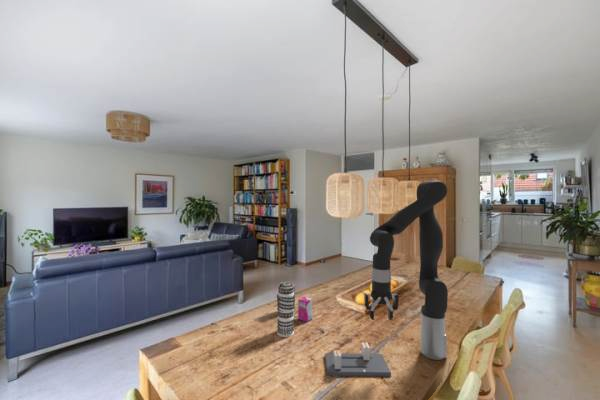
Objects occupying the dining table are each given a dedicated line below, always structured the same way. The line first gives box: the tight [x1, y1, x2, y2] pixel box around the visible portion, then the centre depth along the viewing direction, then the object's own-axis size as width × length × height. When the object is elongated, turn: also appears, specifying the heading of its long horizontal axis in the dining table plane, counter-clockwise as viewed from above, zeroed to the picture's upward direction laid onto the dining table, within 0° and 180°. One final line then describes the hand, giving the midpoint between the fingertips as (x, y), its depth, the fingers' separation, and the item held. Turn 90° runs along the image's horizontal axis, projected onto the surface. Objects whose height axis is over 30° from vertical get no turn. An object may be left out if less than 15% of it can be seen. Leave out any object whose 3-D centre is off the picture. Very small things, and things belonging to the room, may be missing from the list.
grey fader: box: [333, 349, 342, 369], centre depth 104 cm, size 2×4×5 cm, turn 0°
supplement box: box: [297, 296, 313, 324], centre depth 148 cm, size 6×6×12 cm
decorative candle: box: [276, 281, 296, 338], centre depth 133 cm, size 9×9×25 cm
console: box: [324, 352, 392, 377], centre depth 107 cm, size 24×12×2 cm, turn 90°
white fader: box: [361, 341, 371, 360], centre depth 110 cm, size 2×4×5 cm, turn 0°
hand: (381, 319), depth 110 cm, fingers open, 6 cm apart
